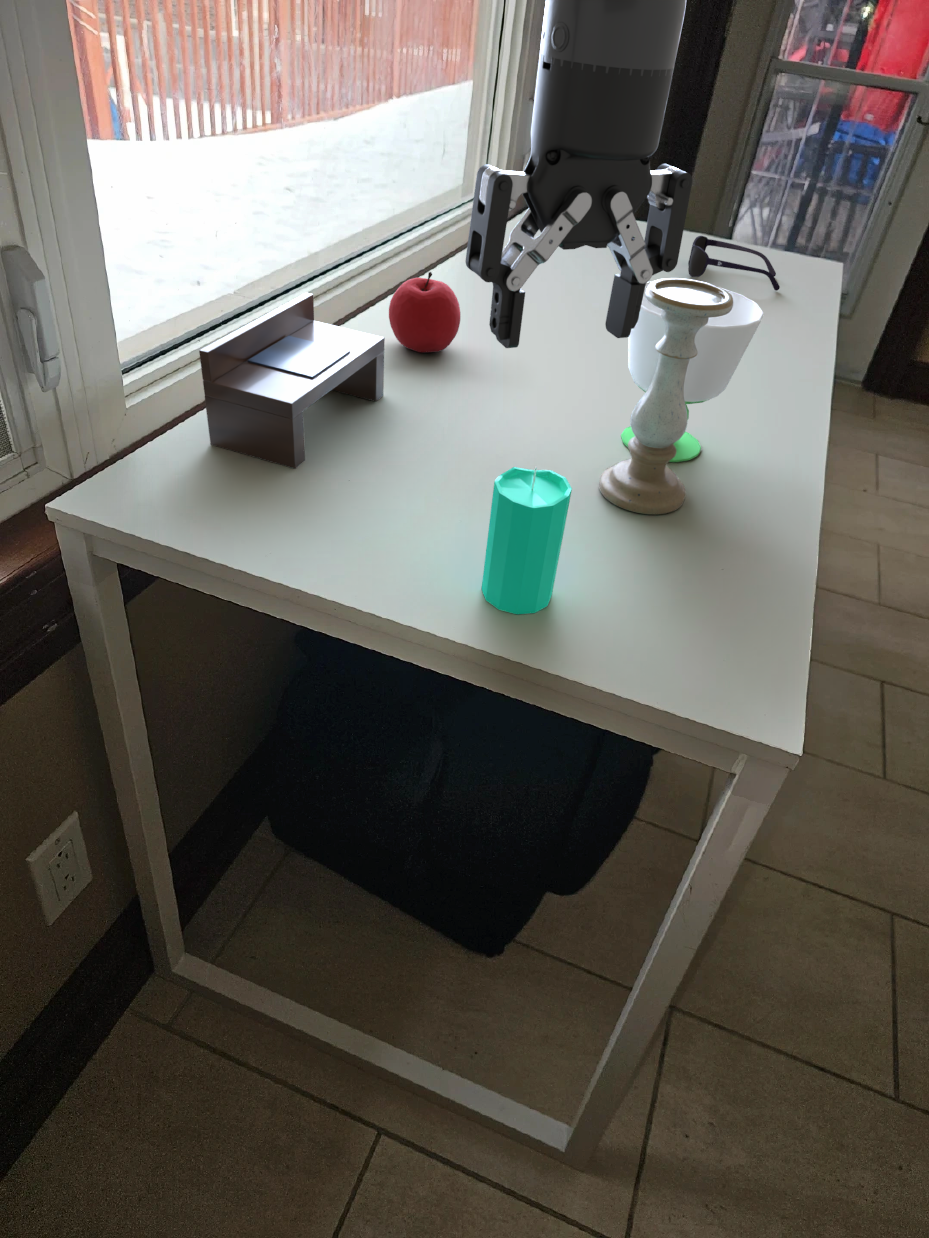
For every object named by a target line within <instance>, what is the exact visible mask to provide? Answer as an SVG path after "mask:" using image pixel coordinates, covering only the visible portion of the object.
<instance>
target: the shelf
mask: <svg viewBox="0 0 929 1238" xmlns="http://www.w3.org/2000/svg"><path fill="white" fill-rule="evenodd" d="M314 301H315V300H314V294H313V293H309V292H304V293H302V294H301V295H299V296H297V297H295V298H293V299H291V300H290V301H287V302H286V303H284V304H281V305H280V306H278V307H276V308H274V309H273V310H271V311H269V312H267V313H265V314H263V315H262V316H260V317H258V318H256V319H254V320H253V321H251V322H249V323H246V324H245V325H243V326H241V327H239V328H237V329H236V330H234V331H232V332H231V333H228V334H227V335H225V336H223V337H221V338H220V339H217V340H215V341H214V342H212V343H210V344H208V345H206V346H204V347H202V348H201V349H199V351H198V353H199V363H200V368H201V375H202V376H201V377H202V386H203V394H204V401H205V402H204V403H205V410H206V411H205V413H206V419H207V427H208V436H209V443H210V445H211V446H214V447H218V448H221V449H225V450H229V451H232V452H235V453H239V454H242V455H245V456H249V457H252V458H257V459H260V460H263V461H266V462H270V463H274V464H277V465H280V466H284V467H288V468H290V469H297V468H298V467H299V466H301V465H302V464H303V463H304V462H306V445H305V443H306V442H305V422H304V421H305V420H304V411H305V410H307V409H308V408H310V407H311V406H312V405H314V404H315V403H316V402H317V401H319V400H320V399H321V398H323V397H324V396H326V395H327V394H329V392H331V391H334V392H337V393H341V394H345V395H348V396H349V395H350V396H352V397H357V398H360V399H364V400H368V401H372V402H378V401H379V400H380V399H381V398H382V397H384V389H385V387H384V386H385V385H384V384H385V383H384V382H385V337H384V336H381V335H376V334H372V333H368V332H363V331H360V330H355V329H351V328H347V327H342V326H338V325H334V324H330V323H326V322H321V321H318V320H315V307H314V305H315V304H314Z"/></svg>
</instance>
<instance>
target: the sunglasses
mask: <svg viewBox="0 0 929 1238" xmlns="http://www.w3.org/2000/svg"><path fill="white" fill-rule="evenodd" d="M708 246H710V247H715V248H716V247H717V248H723V249H729V250H735V251H741V252H745V253H749V254H753V255H755V256H758V257H759V258H760V259H762V260H763V261H764V263H765V266H766V267H767V270H765V269H763V268H757V267H753V266H748V265H744V264H740V263H736V262H735V263H734V262H731V261H725V260H722V259H717V258H711V257H710V256H709V254H708V253H707V252H706V249H707V247H708ZM708 266H713V267H714V266H715V267H719V268H727V269H734V270H740V271H748V272H754V273H759V274H761V275H765V276H767V277H768V279H769V281H770V283H771V285H772V288H773V290H774V291H778V290H780V288H781V287H780V284H779V282H778V281H777V279H776V278H775V277H776V275H777V272H776V270H775V268H774V267H773V265H772V263H771V261H770V260H769V258H768V257H767V256H766V255H765V254H763V253H762V252H761V251H758V250H755V249H752V248H749V247H746V246H742V245H740V244H739V245H738V244H734V243H730V242H726V241H721V240H718V239H717V240H716V239H711V238H708V237H707V236H705V235H698V236H696V237H695V239H694V240H693V242H692V245H691V249H690V253H689V260H688V268H687V269H688V275H689V276H690V277H691V278H698V277H701V276H702V275H703V274H704V273H705V272H706V270H707V267H708Z"/></svg>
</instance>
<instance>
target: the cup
mask: <svg viewBox="0 0 929 1238" xmlns="http://www.w3.org/2000/svg"><path fill="white" fill-rule="evenodd" d="M653 281H654V280H649V281H648V282H647V283H646V286H645V290H644V295H643V299H642V304H641V309H640V312H639V318H638V322H637V324H636V325H635V327H634V328H633V329H631V333H630V335H629V337H627V352H628V353H627V359H628V360H627V367H628V370H629V373H630V376H631V378H632V380H633V383H634V384H635V385H636V386H637V387H638V389H640V390H641V391H643V392H644V393H645V392H646V391H647V390H648V388H649V386H650V384H651V382H652V380H653V378H654V374H655V371H656V367H657V364H658V360H659V352H658V351H657V350H656V348H655V346H656V344H657V343H658V342H659V341H660V340H661V339H662V338H663V336H664V335H665V332H666V325H665V322H664V320H663V319H662V317H661V311H662V309H660V308H658V307H656V306H654V305H653V304H651V303H650V302H649V301H648V300H647V299H646V289H647V287H648V286H649V284H650V283H651V282H653ZM719 287H720V288H722V289H724V290H726V291H727V292H729V293H730V294H731V296H732V297H733V307H732V310H731V311H730V312H729V313H728V314H726V315H723V316H719V317H709V320H708V323H707V324H706V325H705V326H703V327H702V328H701V329H699V331H698V332H697V334H696V336H695V339H694V340H695V345H696V348H697V351H698V354H697V356H696V357H694V358H691V359H690V361H689V364H688V368H687V372H686V377H685V382H684V399H685V404H686V409H687V419H688V420H689V418H690V417H689V416H690V410H689V408H688V405H692V404H701V403H704V402H707V401H710V400H712V399H715V398H716V397H718V396H719V395H720V394H722V393H723V392H724V391H725V390H726V389H727V387H728V385H729V383H730V381H731V379H732V377H733V375H734V374H735V371H736V370H737V368H738V366H739V364H740V362H741V361H742V358H743V356H744V354H745V352H746V351H747V349H748V347H749V345H750V343H751V341H752V340H753V337H754V335H755V333H756V332H757V330H758V328H759V327H760V324H761V322H762V320H763V318H764V315H765V312H764V311H763V310H762V308H761V307H760V306H759V304H758V303H757V302H756V301H754V300H753V299H751V298H748V296H747V297H746V296H745V295H743V294H742V293H739V292H735V291H732V290H729V289H727V288H724V287H721V286H719ZM633 437H635V435H634V433H633V431H632V429H631V425H629V426H628V427H626V428H624V429H623V431H622V432H621V434H620V438H621V440H622V444H623V445H624V446H626V447H627V448H628V442H629V441H630V439H631V438H633ZM674 446H675V447H676V455H675V457H674V458H672V459H671V460H670V461H669V462H668V463H681V462H687V461H690V460H693V459H694V458H696V457H698V456H699V454H700V452H701V450H702V446H701V444H700V441H699V440H698V439H697V438H696V437H695V436H693V435H692V434H691V433H690V432H687V431H685V433H684V434H683V436H682V437H681V438H680V439H679V440H678V441H676V442H675V443H674Z"/></svg>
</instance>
